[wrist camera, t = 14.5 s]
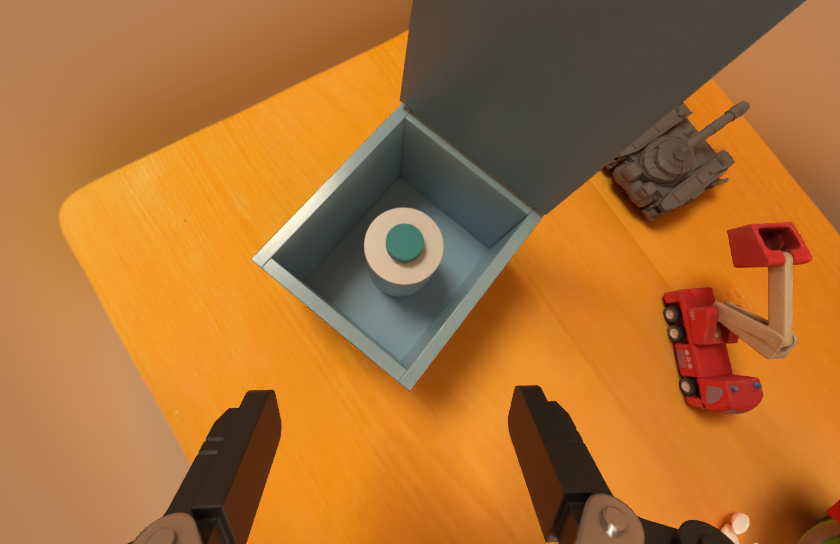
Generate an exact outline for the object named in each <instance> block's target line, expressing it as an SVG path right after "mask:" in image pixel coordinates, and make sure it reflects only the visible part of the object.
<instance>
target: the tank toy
mask: <svg viewBox="0 0 840 544" xmlns="http://www.w3.org/2000/svg"><path fill="white" fill-rule="evenodd" d="M748 109H749V103H747V102H741V103H738V104H736V105H734V106H733V107H732V108H730V109H729V110H728V111H727V112H725V113H724V115H723V116H721V117H720V118H718V119H716V120H715V121H713V122H712V123H711V124H709V125H708V126H706V127H705V128H704V129H703V130H701V131H700V132H698V131H697V130H696V129H695V128H694V126H693V125H692V124H691V123H690V121H688V119H687V118H686V117H688V116H689V115H690V114H692V113H693V112H691V111H690V110H689V109H688V107H687V106H686V105H685V104H684V103H683V102H682V103H681V104H680V105H679V106H677V107H676V108H675V109H674V110H673V111H671V112H670V113H669V114H668V115H667V116H665V117H664V118H663V119H662V120H660V121H659V122H658V123H657V124H656V125H654V126H653V127H652V128H651V129H650V130H648V131H647V132H646V133H645V134H643V135H642V136H641V137H640V138H639V139H637V140H636V141H635V142H634V143H633V144H631V145H630V146H629V147H628V148H627V149H625V150H624V151H623V152H622V153H620V154H619V155H618V156H617V157H616V158H614V159H613V160H612V161H611V162H610V163H608V164H607V165H606V166H605V167H606V168H607V169H608V170H609V169H611V168H612V167H614V166H615V165H616V164H618V165H617V166H616V167H615V168H616V169H615V170H614V172H613V174H612V175H613V177H614V180H615V181H616V183H617V184H618V185H621V187H622V188H623V189H624V190H625V192H626V193H627V194H628V195H629V199H630V200H631V201H632V203H635V204H636V205H637V207H644V206H646V207H644V209H642V210H641V212H642V213H643V214H644V216H645V217H646V218H647V219H648V221H652V220H653V219H655V218H657V217H659V216H661V215H663V214H666V213H669V212H672V211H673V210H674V209H676V208H678V207H680V206H682V205H684V204H685V205H686V204H688V203H690V202H692V201H694V200H695V199H696V198H697V197H698V196H699V195H700V194H702V193H703V191H704V190H705V191H706V190H708V189H710V188H713V187H714V186H717V185H720V184H723V183H726V182H727V181H728V178H726V179H718V177H719V176H720V175H722V174H723V173H724V172H726V171H727V169H728V168H729V167H730V166H731V165H732V164H733V163H735V162H734V161H733V158H732V157H731V156H730V155H729V154H728V152H727V151H725V150H722V151H721V152H719V153H716V152H714V150H713V149H712V148H711V147H710V145H709V144H708V143H707V142H706V141H705V139H707V138H708V137H709V136H711V135H713V134H714V133H716V132H717V131H719V130H720V129H721V128H723V127H724V126H725V125H726V124H728V123H729V122H732V121H734V120H735V119H737V118H738V117H740V116H742V115H743V114H744V113H745V112H746V111H747V110H748ZM717 179H718V180H717ZM648 204H649V205H648Z"/></svg>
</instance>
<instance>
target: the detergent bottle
mask: <svg viewBox="0 0 840 544" xmlns="http://www.w3.org/2000/svg"><path fill="white" fill-rule="evenodd" d="M443 251H444V243H443V237H442V234H441V232H440V230H439V228H438V226H437V225H436V223H435V222H434V221H433V220H432V219H431V218H430V217H429V216H427V215H426V214H424V213H423V212H421V211H418V210H416V209H412V208H395V209H391V210H388V211H386V212H384V213H382V214H381V215H379V216H378V217H377V218H376V219H375V220H374V221H373V222H372V223H371V224H370V226H369V228H368V230H367V232H366V235H365V239H364V252H365V257H366V261H367V265H368V269H369V273H370V276H371V279H372V281H373V282H374V284H375V285H376V286H377V287H378V288H379V289H380V290H381V291H383V292H384V293H386V294H388V295H391V296H396V297H405V296H409V295H412V294H414V293H416V292H418V291H419V290H420V289H422V288H423V287H424V285H425V284H426V283H427V281H428V280H429V279H430V277H431V276H432V274H433V273H434V272H435V270H436V269H437V268H438V266H439V264H440V262H441V260H442V256H443Z"/></svg>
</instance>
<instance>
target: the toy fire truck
mask: <svg viewBox="0 0 840 544" xmlns="http://www.w3.org/2000/svg"><path fill="white" fill-rule="evenodd" d="M727 233H728V238H729V244H730V248H731V256H732V260H733V264H734V267H735V268H746V267H768V320H766V319H764V318H762V317H760V316H758V315H756V314H754V313H752V312H750V311H748V310H745V309H743V308H741V306H739V305H735V304H733V303H731V302H729V301H725V302H724V303H723V304H722V303H720V302H715V299H714V295H713V291H712V290H713V289H712V288H710V287H708V288H696V289H684V290H678V291H673V292H668V293H665V294H664V299H665V303H667V304H672V306H669V307H667V308H665V310H664V316H665V318H666V320H668V321H669V322H673V323H676V325H672V326H670V327H669V329H668V335H669V337H670V338H671V339H672V340H673V341H676V342H677V343H676V344H675V350H676V354H677V360H678V365H679V369H680V373H681V375H682V376H684V378H683V379H681V380H680V382H679V385H680V389H681V390H682V392H683V393H685V394H686V395H687V397H686V400H687V402H688V404H689V405H692V406H695V407H699V408H703V409H709V410H712V411H714V412H718V413H725V414H740V413H745V412H748V411H750V410H752V409H753V408H755V407H756V406H757V405H758V404H759V403H760V402H761V400H762V397H763V392H762V388H761V387H762V385H761V384H760V380H759V379H758V378H756V377H749V376H740V375H734V374H732V368H731V363H730V360H729V356H728V352H727V348H726V343H737V342H738V337H739V338H740V339H742V340H743V341H744V342H746V343H747V344H748V345H749V346H751V347H752V348H753V349H755V350H756V351H757V352H758V353H759V354H761V355H762V356H763V357H765V358H767V359H778V358H785V357H786V356H787V355H788V354H789V352H790V351H791V350H792V349H793V348H794V346H795V345H796V344H797V342H798V337H797V336H796V335H795V334H794V333H792V329H793V328H792V325H793V323H792V322H793V265H799V264H805V263H808V262H810V261H811V260H812V255H811V253H810V251H809V249H808V248H807V246H806V245H805V242H804V241H803V239H802V237H801V235H800V234H799V233H798V231H797V229H796V228H795V226H794V225H793V223H792V222H783V223H767V224H750V225H746V226H742V227H738V228H734V229H730V230H728V231H727ZM679 342H680V343H679Z"/></svg>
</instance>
